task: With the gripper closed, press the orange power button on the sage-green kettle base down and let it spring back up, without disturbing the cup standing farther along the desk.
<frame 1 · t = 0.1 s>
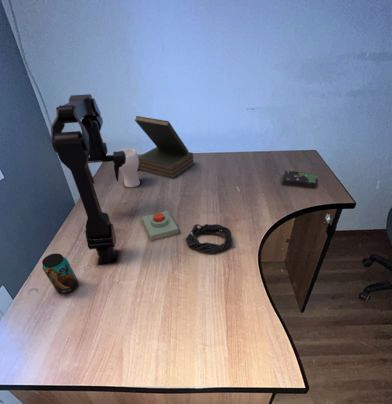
hand: (105, 182, 103), 15 cm above the table, tool pointing down, fingers open, 9 cm apart
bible: (166, 167, 145), on the table
cup: (132, 184, 133), on the table
cable: (209, 243, 99), on the table
disk drive: (298, 182, 129), on the table
beverage can: (68, 288, 85), on the table
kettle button: (158, 217, 103), point 4 cm above the table, slide at 0.1 cm
kettle base: (160, 227, 106), on the table
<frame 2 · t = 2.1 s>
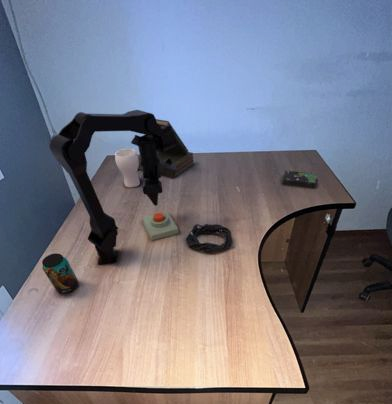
hand: (155, 199, 98), 12 cm above the table, tool pointing down, fingers open, 7 cm apart
nothing on the table moved.
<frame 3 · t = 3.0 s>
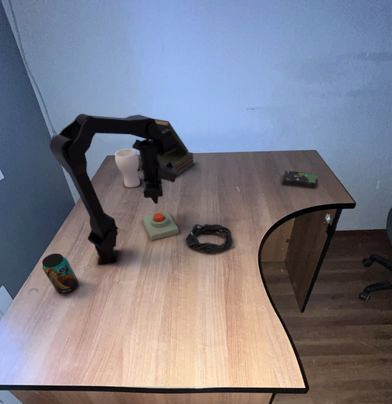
hand: (156, 203, 98), 11 cm above the table, tool pointing down, fingers closed
nothing on the table moved.
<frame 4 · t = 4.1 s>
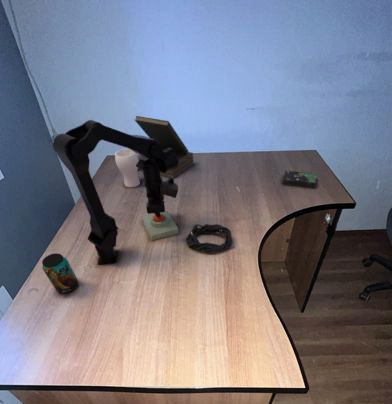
hand: (158, 216, 103), 5 cm above the table, tool pointing down, fingers closed, pressing on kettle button
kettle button: (158, 218, 103), point 4 cm above the table, slide at -0.3 cm, touching gripper
everything else where it was.
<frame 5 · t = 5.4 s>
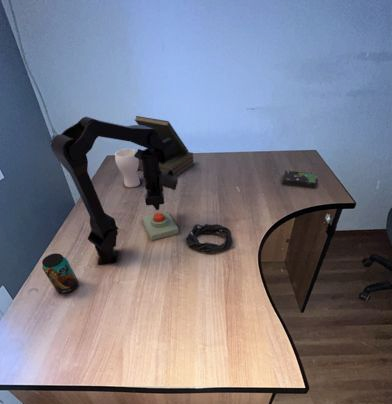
hand: (157, 209, 101), 8 cm above the table, tool pointing down, fingers closed
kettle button: (158, 217, 103), point 4 cm above the table, slide at 0.1 cm
everything else where it was.
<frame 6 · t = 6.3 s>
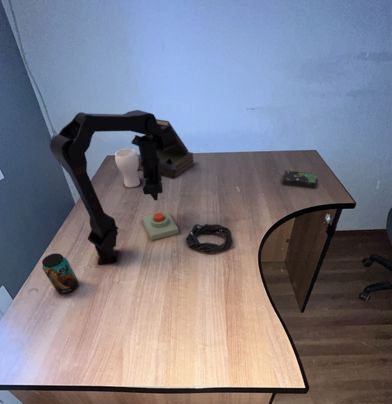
hand: (156, 200, 98), 12 cm above the table, tool pointing down, fingers closed
nothing on the table moved.
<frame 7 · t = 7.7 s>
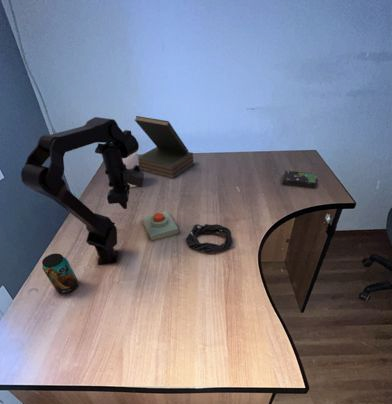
hand: (125, 208, 94), 12 cm above the table, tool pointing down, fingers closed
nothing on the table moved.
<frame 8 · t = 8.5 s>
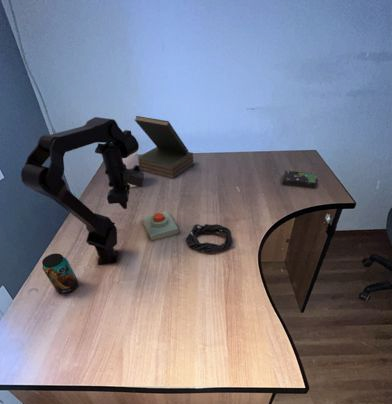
hand: (125, 208, 94), 12 cm above the table, tool pointing down, fingers closed
nothing on the table moved.
at the end: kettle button pushed in 1.1 cm at the most during the clip, back to where it started at the end; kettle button slide at 0.1 cm; cup moved 0.2 cm from its start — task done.
